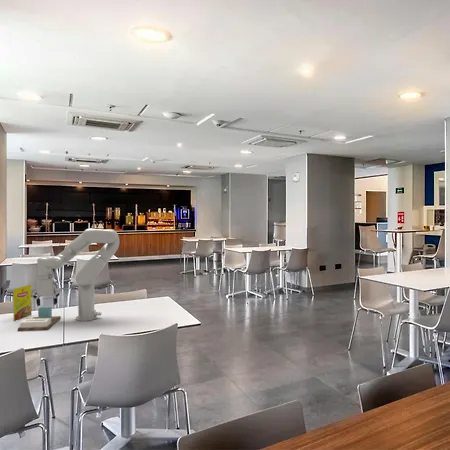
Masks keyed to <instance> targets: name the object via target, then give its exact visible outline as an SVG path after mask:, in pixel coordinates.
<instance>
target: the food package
mask: <svg viewBox="0 0 450 450" xmlns="http://www.w3.org/2000/svg"><path fill="white" fill-rule="evenodd" d="M12 291H13V293H12V294H13V295H12V296H13V297H12V299H13V300H12V302H13V322H16V320H17V321H20V320H22V319H24V318H25V319H26V318H27V317H30V316H32V294H31V293H32V284H27V285H24V286H20V287H16V288H13V290H12Z"/></svg>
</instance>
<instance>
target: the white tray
mask: <svg viewBox="0 0 450 450" xmlns="http://www.w3.org/2000/svg"><path fill="white" fill-rule="evenodd" d="M49 324H51V318H33V317H32V318H31V317H30V318H27V317H26V318H25V319H23V320H22V321H20V325H19V327H20V328H31V327H47V326H48V325H49Z"/></svg>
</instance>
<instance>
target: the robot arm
mask: <svg viewBox="0 0 450 450" xmlns="http://www.w3.org/2000/svg"><path fill="white" fill-rule="evenodd" d="M92 244H103V246H102V247H101V248H100V250H98V251H97V253H96V254H94V256H92V257H91V258H90V259H89V260H88V261H87V262H86V263H85V265H84V266H82V268H81V269H80V270H79V271H78V272H77V274H76V275H75V282H76V283H77V286H78V287H77V288H78V289H77V291H78V293H77V295H78V296H77V299H78V300H77V301H78V303H77V304H78V307H77V312H78V315H76V316H75V321H80V322H89V321H93V320H95V319H97V318H98V317H99V316H101V317H102V312H101V311H96V309H95V283H96V282H95V280H96V278H97V276H98V275H99V273H101V271H103V269H104V268H105V266H106V265H107V263H109V261H110V260H111V259H112V257H113V256H114V255H115V253H116V252H117V251H118V249H119V246H120V238H119V234H118V232H117V231H116V230H115V229H112V228H111V229H110V228H109V229H97V228H91V227H90V228H86V229H85V230H84V231H83V232H81V234H79V235H78V236H77V237H76V238H74V239H73V240H72V241H71V242H70V243H69V244H68V246H67V247H66V248H64V249H63V250H62V251H61V252H60V253H59V254H57V255H55V256H52V257H49V256H42V257H38V258H37V260H36V262H37V278H38V279H37V282H36V289H35V290H33V291H31V297H33V299H35V300H36V301H35V302H36V305H37V307H39V306H40V307H41V299H40V297H49V296H52V297H53V305H54V306H55V305H57V304H58V297H60V294H61V292H62V290H61V289H59V288H57V287H56V283H55V279H54V278H55V274H53V273H52V269H55V270H56V269H61V268H62V267H64V266H65V265H66V264H67V263H69V262H70V261H71V260H73V258H75V257H76V256H78V255H79V254H80V253H82V252H83V251H84V250H85V249H87V248H88V247H89V246H91V245H92Z"/></svg>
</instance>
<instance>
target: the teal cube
mask: <svg viewBox="0 0 450 450" xmlns="http://www.w3.org/2000/svg"><path fill="white" fill-rule="evenodd" d="M52 308H53V306H51V305H50V306H40V307H39V308H38V309H37V311H38V313H37V314H38V315H37V317H38V318H51V317H52V316H53V314H52V313H53V312H52V311H53V309H52Z"/></svg>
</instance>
